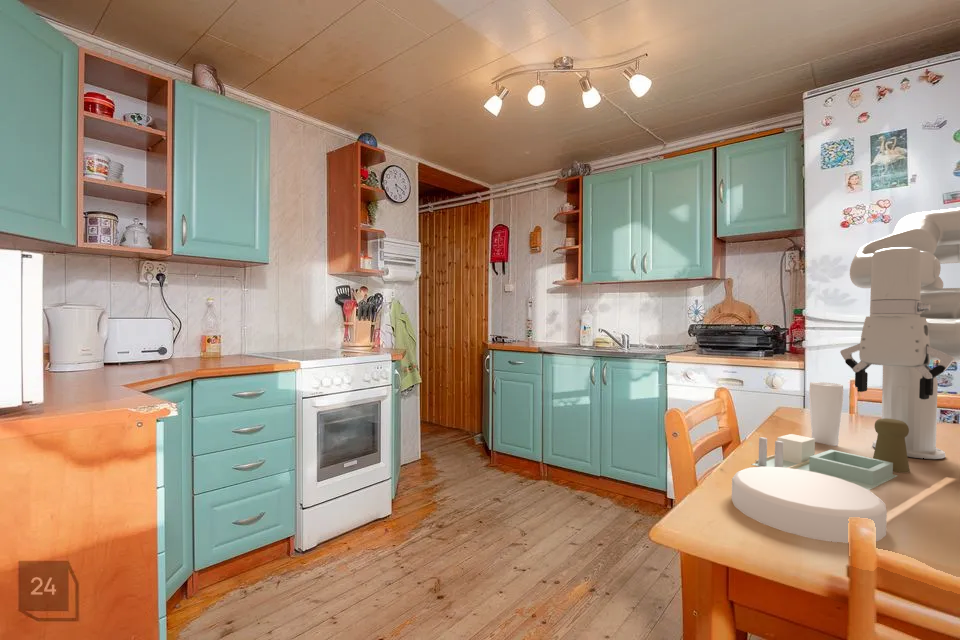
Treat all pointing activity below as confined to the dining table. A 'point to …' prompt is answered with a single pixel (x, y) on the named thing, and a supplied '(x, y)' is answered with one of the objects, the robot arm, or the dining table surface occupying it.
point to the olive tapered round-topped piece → (892, 443)
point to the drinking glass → (825, 411)
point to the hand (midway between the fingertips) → (891, 394)
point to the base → (832, 465)
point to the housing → (797, 448)
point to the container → (805, 502)
